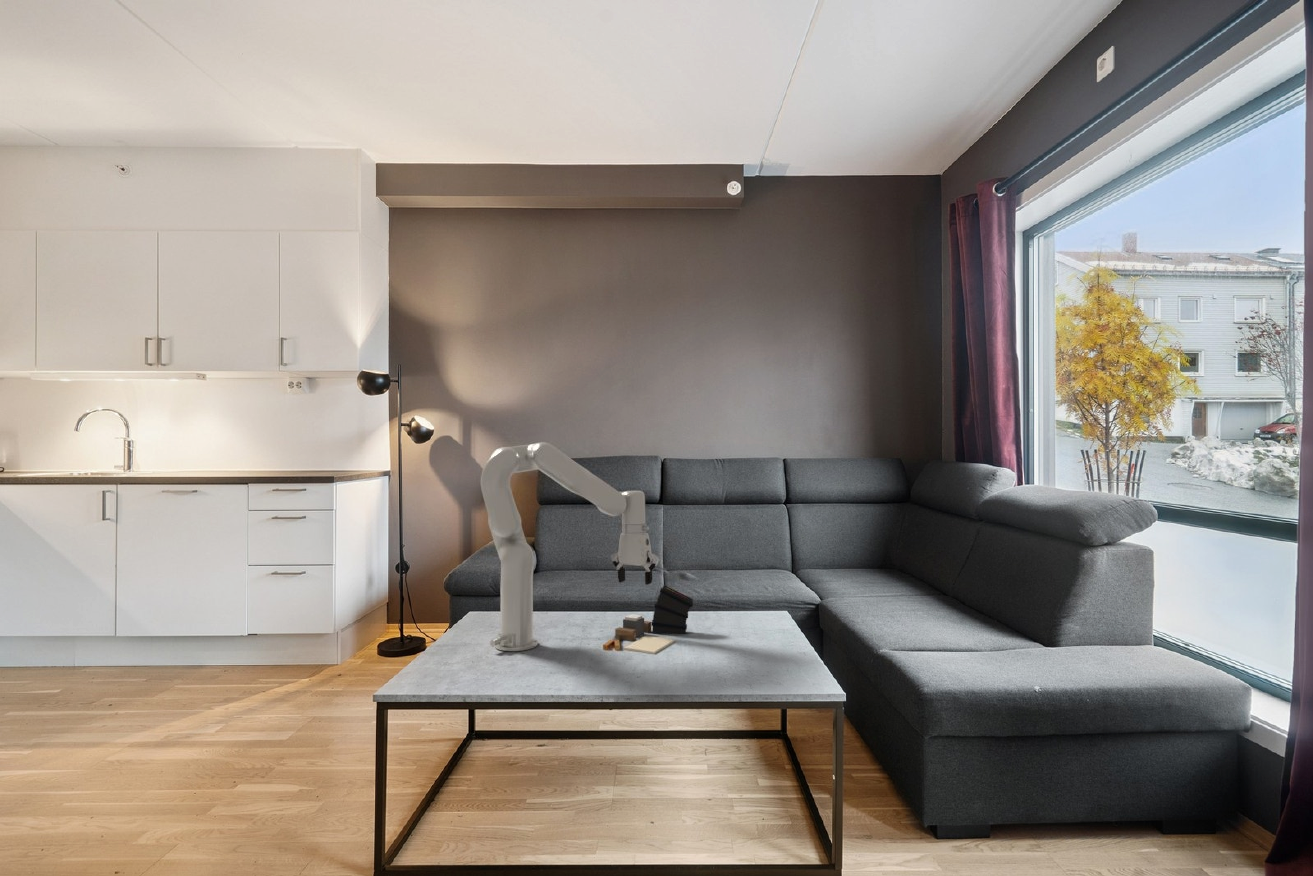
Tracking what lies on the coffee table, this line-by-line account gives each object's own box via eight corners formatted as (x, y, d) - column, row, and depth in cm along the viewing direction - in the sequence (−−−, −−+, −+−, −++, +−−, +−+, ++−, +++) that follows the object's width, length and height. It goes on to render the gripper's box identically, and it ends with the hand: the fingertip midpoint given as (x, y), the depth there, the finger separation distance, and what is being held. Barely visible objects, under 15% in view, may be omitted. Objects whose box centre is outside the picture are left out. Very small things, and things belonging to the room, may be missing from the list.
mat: (654, 654, 187) (654, 652, 187) (624, 649, 191) (624, 647, 191) (674, 641, 199) (674, 639, 199) (646, 637, 204) (646, 635, 204)
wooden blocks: (632, 641, 200) (632, 631, 200) (615, 638, 203) (615, 629, 203) (651, 631, 212) (651, 621, 212) (635, 628, 214) (635, 619, 214)
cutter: (619, 650, 191) (619, 645, 191) (602, 650, 191) (602, 645, 191) (625, 639, 202) (625, 635, 202) (609, 639, 202) (609, 634, 202)
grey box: (636, 638, 204) (636, 618, 204) (622, 636, 206) (622, 617, 206) (644, 634, 208) (644, 615, 208) (630, 632, 210) (630, 613, 211)
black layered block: (643, 625, 212) (662, 584, 212) (679, 643, 211) (699, 602, 211) (642, 628, 208) (662, 586, 208) (679, 646, 208) (699, 604, 208)
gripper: (663, 528, 207) (664, 582, 207) (616, 527, 215) (617, 578, 215) (652, 531, 201) (653, 587, 200) (604, 529, 209) (605, 583, 208)
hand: (635, 582), depth 208 cm, fingers open, 9 cm apart
